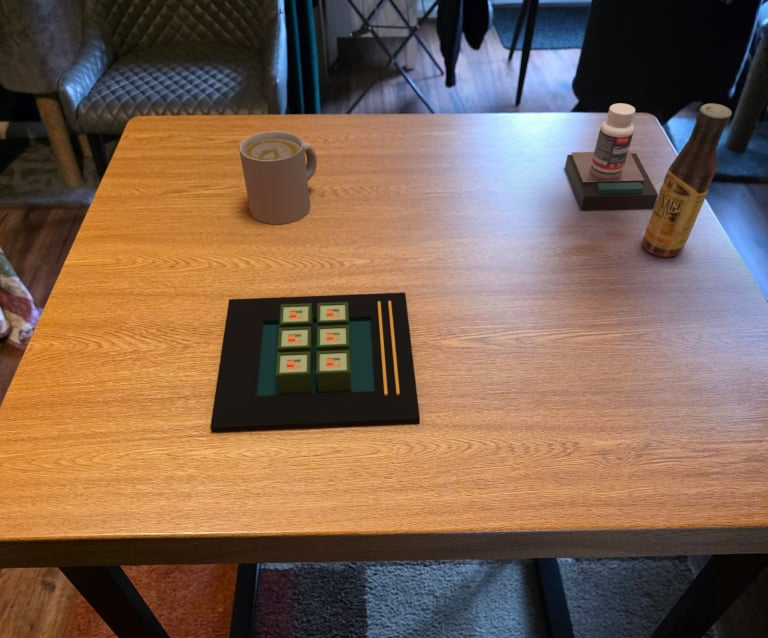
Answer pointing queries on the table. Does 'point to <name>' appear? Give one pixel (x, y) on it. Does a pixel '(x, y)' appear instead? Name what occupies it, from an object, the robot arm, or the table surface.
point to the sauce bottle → (686, 184)
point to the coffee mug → (277, 175)
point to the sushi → (315, 363)
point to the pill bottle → (614, 139)
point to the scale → (610, 184)
